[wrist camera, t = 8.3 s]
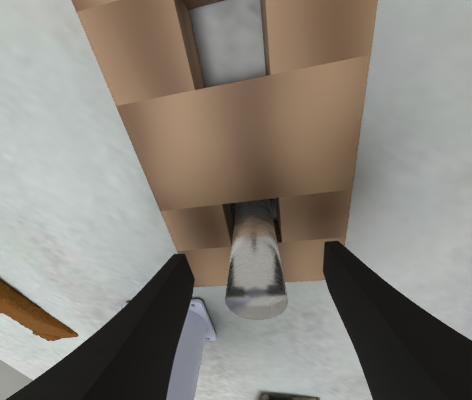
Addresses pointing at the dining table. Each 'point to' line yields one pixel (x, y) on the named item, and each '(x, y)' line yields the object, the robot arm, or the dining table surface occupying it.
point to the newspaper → (265, 399)
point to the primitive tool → (32, 315)
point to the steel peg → (255, 264)
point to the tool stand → (241, 122)
